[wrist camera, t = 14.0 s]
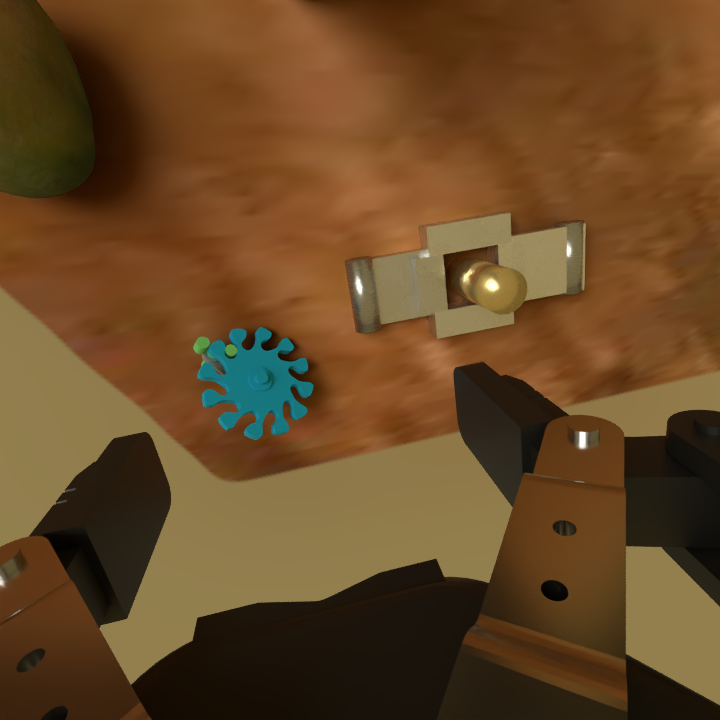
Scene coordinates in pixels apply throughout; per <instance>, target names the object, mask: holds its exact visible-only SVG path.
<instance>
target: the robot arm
mask: <svg viewBox="0 0 720 720" xmlns="http://www.w3.org/2000/svg"><path fill="white" fill-rule="evenodd" d="M454 387H455V397H456V408H457V419H458V425H459V429H460V433H461V436H462V438H463V440H464V442H465V444H466V445H467V446H468V448H469V449H470V450H471V452H472V453H473V454H474V456H475V457H476V458H477V460H478V461H479V463H480V464H481V465H482V467H483V468H484V469H485V471H486V472H487V473H488V475H489V476H490V477H491V479H492V480H493V481H494V483H495V484H496V485H497V487H498V488H499V489H500V491H501V492H502V494H503V495H504V496H505V498H506V499H507V500H508V502H509V503H510V504H511V506H512V507H513V509H512V512H511V515H510V518H509V522H508V525H507V528H506V531H505V534H504V537H503V541H502V544H501V547H500V550H499V553H498V557H497V560H496V563H495V566H494V569H493V573H492V576H491V579H490V582H489V583H486V582H483V581H479V580H474V579H469V578H460V577H444V576H443V574H442V571H441V569H440V567H439V564H438V562H437V560H436V559H433V560H430V561H425V562H421V563H417V564H413V565H409V566H405V567H401V568H397V569H393V570H389V571H385V572H381V573H378V574H376V575H374V576H372V577H370V578H368V579H366V580H364V581H362V582H360V583H357V584H355V585H353V586H351V587H349V588H348V589H345V590H343V591H341V592H339V593H337V594H335V595H333V596H331V597H329V598H326V599H324V600H321V601H311V602H270V603H256V604H252V605H247V606H243V607H239V608H235V609H231V610H227V611H223V612H219V613H215V614H211V615H207V616H203V617H199V618H197V623H196V627H195V632H194V636H193V641H191V642H189V643H187V644H185V645H183V646H181V647H180V648H178V649H177V650H175V651H173V652H171V653H170V654H168V655H167V656H165V657H164V658H163V659H161V660H160V661H158V662H157V663H155V665H153V666H152V667H151V668H149V669H148V670H147V671H146V672H145V673H143V674H142V675H141V676H140V677H139V678H138V679H137V680H136V681H135V682H134V683H132V684H130V682H129V681H128V679H127V677H126V675H125V673H124V672H123V670H122V668H121V666H120V664H119V663H118V661H117V659H116V657H115V656H114V654H113V652H112V650H111V648H110V647H109V645H108V643H107V641H106V639H105V638H104V636H103V634H102V632H101V631H100V629H99V628H100V626H101V625H103V624H108V623H112V622H116V621H120V620H124V619H127V618H128V615H129V612H130V610H131V607H132V605H133V602H134V600H135V597H136V594H137V592H138V589H139V587H140V584H141V582H142V579H143V576H144V574H145V571H146V569H147V566H148V563H149V561H150V558H151V556H152V553H153V550H154V548H155V545H156V543H157V540H158V538H159V535H160V532H161V530H162V527H163V524H164V522H165V520H166V517H167V514H168V512H169V509H170V505H171V492H170V486H169V483H168V480H167V477H166V475H165V472H164V469H163V467H162V464H161V461H160V458H159V456H158V453H157V450H156V448H155V445H154V442H153V440H152V438H151V436H150V435H149V434H148V433H147V432H142V433H138V434H133V435H128V436H124V437H118V438H114V439H113V440H112V441H111V442H110V443H109V445H108V446H107V447H106V449H105V450H104V452H103V453H102V454H101V455H100V457H99V458H98V460H97V461H96V462H94V463H92V464H91V465H90V466H88V467H87V468H86V469H84V470H83V471H82V472H80V473H79V474H78V475H77V476H76V477H75V478H74V479H73V480H72V482H71V483H70V484H69V486H68V487H67V488H66V489H65V493H62V495H61V496H60V497H59V498H58V500H57V501H56V505H53V506H52V507H51V509H50V510H49V511H48V513H47V514H46V515H45V516H44V518H43V519H42V520H41V522H40V523H39V524H38V525H37V527H36V528H35V529H34V531H33V532H32V533H31V535H30V536H29V537H26V538H21V539H18V540H15V541H12V542H10V543H7V544H5V545H3V546H1V547H0V720H720V705H718V704H716V703H715V702H713V701H711V700H709V699H707V698H705V697H704V696H702V695H700V694H698V693H696V692H694V691H693V690H691V689H689V688H687V687H685V686H684V685H681V684H680V683H678V682H676V681H674V680H673V679H671V678H669V677H667V676H665V675H663V674H662V673H659V672H658V671H656V670H654V669H652V668H651V667H649V666H647V665H645V664H643V663H641V662H640V661H638V660H636V659H634V658H632V657H631V656H629V655H627V654H626V546H644V547H662V548H663V549H664V551H665V552H666V553H667V554H668V555H669V556H670V557H671V558H672V559H673V560H674V561H675V562H676V563H677V564H678V565H679V566H680V567H681V568H682V569H683V570H684V571H685V572H686V573H687V574H688V575H689V576H690V577H691V578H692V579H693V580H694V581H695V582H696V583H697V584H698V585H699V586H700V587H701V588H702V589H703V590H704V591H705V592H706V593H707V594H708V595H709V596H710V597H711V598H712V599H713V600H714V601H715V602H716V603H717V604H718V605H719V606H720V412H717V411H710V410H688V411H683V412H678V413H676V414H674V415H672V416H670V418H669V419H668V421H667V431H666V436H648V437H624V433H623V431H622V430H621V429H620V427H618V426H617V425H616V424H614V423H612V422H610V421H608V420H605V419H602V418H598V417H593V416H587V415H571V416H570V415H568V414H567V413H566V412H564V411H563V410H562V409H560V408H559V407H558V406H556V405H555V404H554V403H552V402H551V401H550V400H548V399H547V398H544V396H543V395H542V394H540V393H539V392H538V391H535V390H534V388H532V387H531V386H530V385H528V384H527V383H526V382H524V381H523V380H520V379H517V378H514V377H511V376H508V375H503V376H500V375H499V374H498V373H496V372H495V371H494V370H493V369H492V368H490V367H489V366H488V365H487V364H485V363H484V362H479V363H475V364H470V365H465V366H460V367H456V368H455V369H454Z"/></svg>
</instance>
